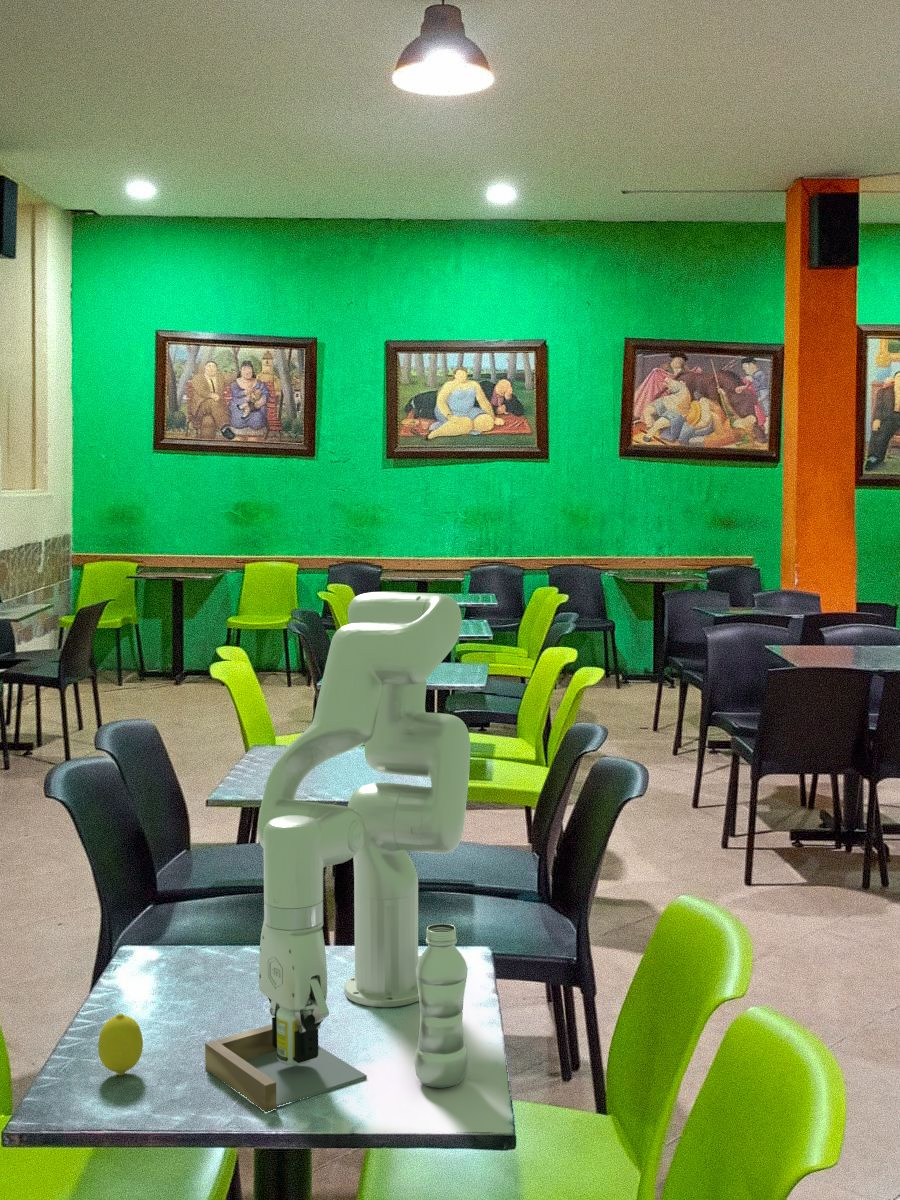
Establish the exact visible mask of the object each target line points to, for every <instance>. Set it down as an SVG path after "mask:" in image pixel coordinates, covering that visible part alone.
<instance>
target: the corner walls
mask: <svg viewBox="0 0 900 1200" xmlns="http://www.w3.org/2000/svg"><path fill="white" fill-rule="evenodd" d="M204 1047H205V1048H204V1049H205V1052H204V1054H205V1055H204V1056H205V1066H204V1067H205V1071H207V1070H208V1071H209V1072H208V1071H207V1072H208V1073H210V1074H211V1073H212V1074H213V1075H212V1074H211V1075H212V1076H214V1075H215V1076H216V1077H217V1078H216V1077H215V1076H214V1077H215V1078H216V1079H218V1078H219V1079H220V1080H221V1082H222V1081H223V1082H225V1083H226V1084H227V1085H229V1086H230V1087H232V1088H233V1089H235V1090H236V1091H237V1092H240V1094H242V1095H244V1096H245V1097H247V1099H249V1100H250V1101H251V1102H253V1103H254V1104H255V1105H257V1106H258V1107H260V1108H261V1109H262V1110H264V1111H265V1112H268V1111H271V1110H273V1109H278V1108H277V1104H276V1082H275V1081H274V1080H272V1079H271V1078H269V1077H268V1076H267V1075H265V1074H264V1073H262V1072H261V1071H259V1070H258V1069H256V1068H255V1067H254V1066H252V1065H251V1064H249V1063H248V1062H246V1061H245V1060H248V1059H251V1058H254V1057H258V1056H261V1055H264V1054H268V1053H271V1052H274V1051H277V1048H274V1047H273V1046H272V1023H271V1024H268V1025H263V1026H261V1027H258V1028H253V1029H250V1030H248V1031H247V1030H246V1031H244V1032H240V1033H236V1034H233V1035H229V1036H225V1037H223V1038H219V1039H215V1040H211V1041H208V1042H205V1043H204ZM219 1079H218V1080H219ZM220 1080H219V1081H220ZM223 1082H222V1083H223ZM225 1083H224V1084H225ZM226 1084H225V1085H226ZM227 1085H226V1086H227ZM229 1086H228V1087H229ZM230 1087H229V1088H230ZM233 1089H232V1090H233ZM237 1092H236V1093H237Z"/></svg>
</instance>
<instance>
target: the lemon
mask: <svg viewBox="0 0 900 1200" xmlns="http://www.w3.org/2000/svg"><path fill="white" fill-rule="evenodd" d="M143 1039H144V1038H143V1034H142V1030H141V1027H140V1025H139V1024H138V1021H136V1020H135V1019H134V1018H132V1017H130V1016H128V1015H124V1014H123V1013H118V1014H116V1016H113V1017H112V1018H110V1019H108V1020H107V1021H106V1022H105V1023H104V1024H103V1025H102V1027H101V1030H100V1033H99V1037H98V1044H97V1045H98V1047H97V1048H98V1056H99V1060H100V1061H101V1062H102V1063H101V1064H103V1066H104V1067H105V1068H106V1069H107V1070H108V1071H111V1072H115V1073H116V1074H117V1075H119V1076H123V1075H124V1074H125V1073H126V1072H127V1071H129V1070H131V1069H133V1068H134V1067H135V1066H136V1065H137V1064H138V1062H139V1060H140V1059H141V1056H142V1053H143V1047H144V1046H143V1045H144V1042H143V1041H144V1040H143Z"/></svg>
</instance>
